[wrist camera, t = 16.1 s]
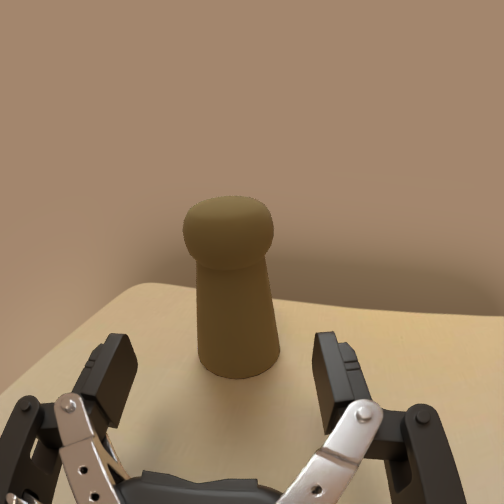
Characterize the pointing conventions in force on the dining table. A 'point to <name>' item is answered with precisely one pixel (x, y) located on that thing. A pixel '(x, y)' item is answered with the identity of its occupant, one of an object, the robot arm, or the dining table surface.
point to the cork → (233, 285)
